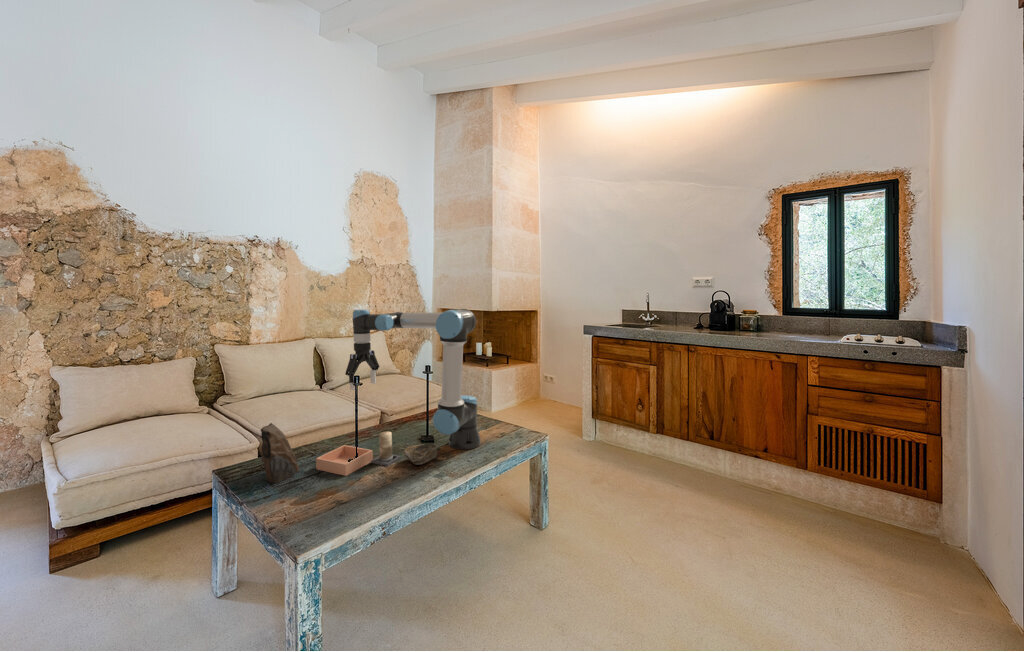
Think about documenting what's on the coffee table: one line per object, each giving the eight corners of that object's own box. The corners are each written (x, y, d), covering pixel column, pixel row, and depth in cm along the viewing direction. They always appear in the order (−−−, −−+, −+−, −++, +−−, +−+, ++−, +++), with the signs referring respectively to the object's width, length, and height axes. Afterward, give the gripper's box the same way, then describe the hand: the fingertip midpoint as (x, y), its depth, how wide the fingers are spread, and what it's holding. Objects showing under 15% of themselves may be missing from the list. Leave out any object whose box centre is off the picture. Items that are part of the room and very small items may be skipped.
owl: (273, 485, 157) (271, 434, 155) (249, 480, 161) (246, 429, 159) (301, 471, 169) (299, 423, 167) (277, 466, 173) (275, 419, 171)
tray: (372, 460, 179) (372, 450, 179) (346, 475, 165) (345, 464, 165) (344, 454, 185) (344, 444, 185) (316, 469, 171) (315, 458, 170)
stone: (409, 463, 169) (406, 439, 175) (403, 472, 176) (400, 449, 182) (441, 459, 176) (437, 437, 181) (434, 469, 183) (430, 447, 188)
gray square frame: (400, 458, 182) (400, 456, 182) (387, 466, 174) (387, 463, 174) (384, 455, 185) (384, 453, 185) (371, 462, 177) (371, 460, 177)
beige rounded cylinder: (395, 459, 181) (395, 432, 180) (387, 464, 176) (386, 436, 175) (385, 457, 183) (384, 430, 182) (376, 462, 178) (375, 434, 177)
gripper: (373, 338, 211) (375, 380, 213) (335, 345, 188) (337, 391, 190) (385, 339, 208) (387, 381, 210) (348, 346, 185) (350, 393, 187)
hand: (363, 386), depth 200 cm, fingers open, 13 cm apart
